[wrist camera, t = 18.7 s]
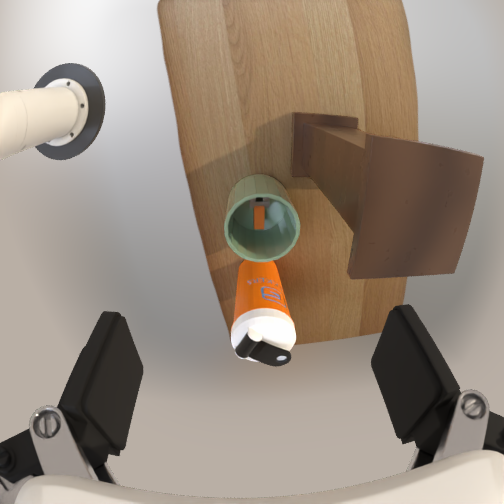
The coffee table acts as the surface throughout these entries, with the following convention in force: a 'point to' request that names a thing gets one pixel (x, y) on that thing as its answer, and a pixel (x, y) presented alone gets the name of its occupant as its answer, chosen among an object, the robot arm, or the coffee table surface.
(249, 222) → the green cup
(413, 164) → the stand
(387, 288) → the coffee table surface
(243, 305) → the shaker bottle
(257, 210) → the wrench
